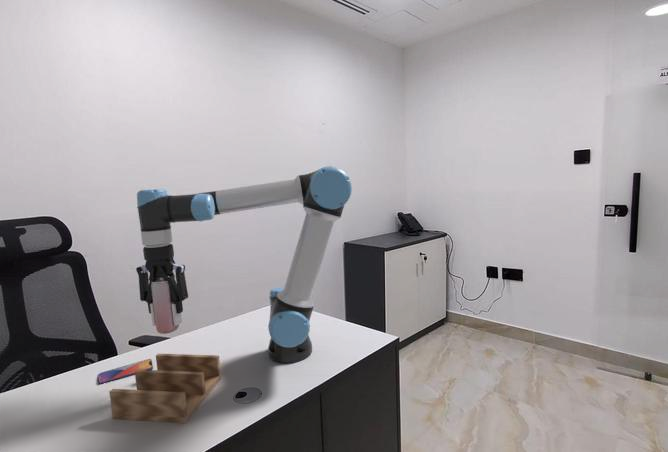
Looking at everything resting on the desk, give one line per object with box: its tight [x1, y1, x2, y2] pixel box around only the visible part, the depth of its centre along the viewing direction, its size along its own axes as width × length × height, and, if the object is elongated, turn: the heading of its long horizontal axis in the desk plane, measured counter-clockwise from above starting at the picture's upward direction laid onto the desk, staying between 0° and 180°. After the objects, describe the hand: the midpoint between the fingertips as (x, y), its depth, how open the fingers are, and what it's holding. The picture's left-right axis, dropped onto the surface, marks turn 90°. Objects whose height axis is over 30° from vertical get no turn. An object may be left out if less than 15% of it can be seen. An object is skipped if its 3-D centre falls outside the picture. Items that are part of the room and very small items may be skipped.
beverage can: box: [151, 278, 180, 335], centre depth 99 cm, size 6×6×15 cm
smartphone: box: [97, 358, 154, 386], centre depth 112 cm, size 7×15×1 cm, turn 122°
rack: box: [109, 353, 222, 424], centre depth 97 cm, size 20×20×8 cm
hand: (167, 323), depth 100 cm, fingers closed on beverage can, 6 cm apart
